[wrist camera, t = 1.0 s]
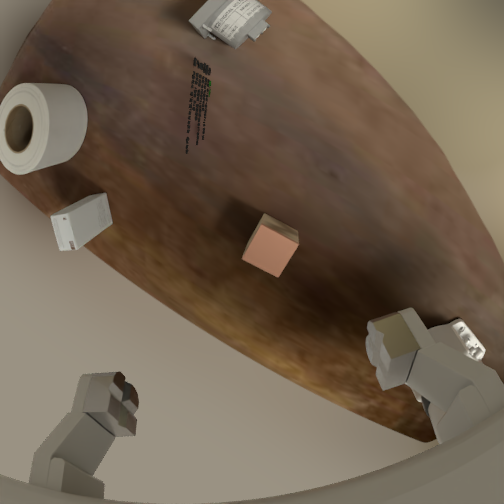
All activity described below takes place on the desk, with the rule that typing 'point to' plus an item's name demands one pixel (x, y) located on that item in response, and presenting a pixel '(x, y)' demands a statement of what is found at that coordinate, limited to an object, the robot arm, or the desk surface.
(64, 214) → the skincare box
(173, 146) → the desk surface
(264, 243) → the birch cube
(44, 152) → the roll of tape
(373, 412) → the desk surface
